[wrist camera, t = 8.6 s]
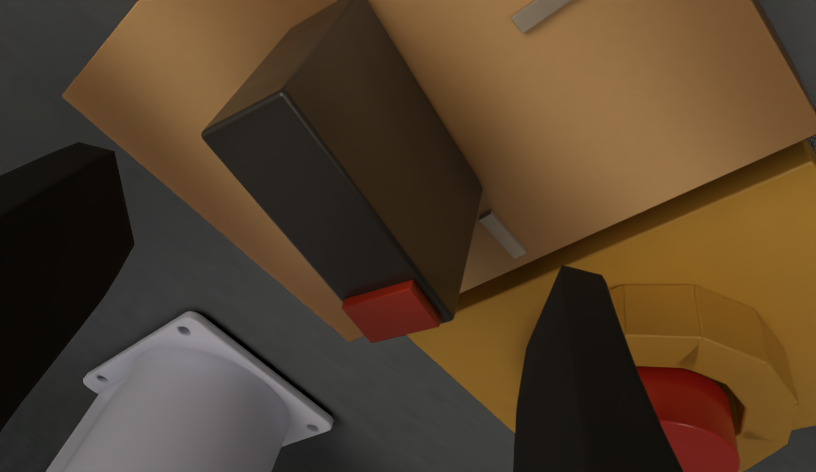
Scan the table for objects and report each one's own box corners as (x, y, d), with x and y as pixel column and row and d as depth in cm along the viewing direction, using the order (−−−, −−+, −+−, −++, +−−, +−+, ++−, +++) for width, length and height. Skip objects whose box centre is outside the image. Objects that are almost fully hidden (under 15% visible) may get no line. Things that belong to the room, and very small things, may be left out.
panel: (375, 273, 21) (347, 347, 19) (128, 42, 18) (56, 99, 15) (790, 58, 14) (827, 135, 12) (520, -423, 10) (496, -450, 8)
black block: (289, 28, 13) (189, 144, 10) (360, -14, 12) (276, 98, 9) (417, 211, 15) (370, 352, 12) (485, 188, 14) (452, 332, 11)
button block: (565, 438, 25) (561, 526, 22) (415, 296, 22) (390, 380, 19) (929, 348, 18) (983, 458, 16) (795, 119, 15) (836, 213, 12)
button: (631, 453, 19) (633, 508, 18) (564, 385, 18) (561, 440, 17) (754, 426, 17) (766, 486, 16) (689, 348, 16) (697, 407, 15)
